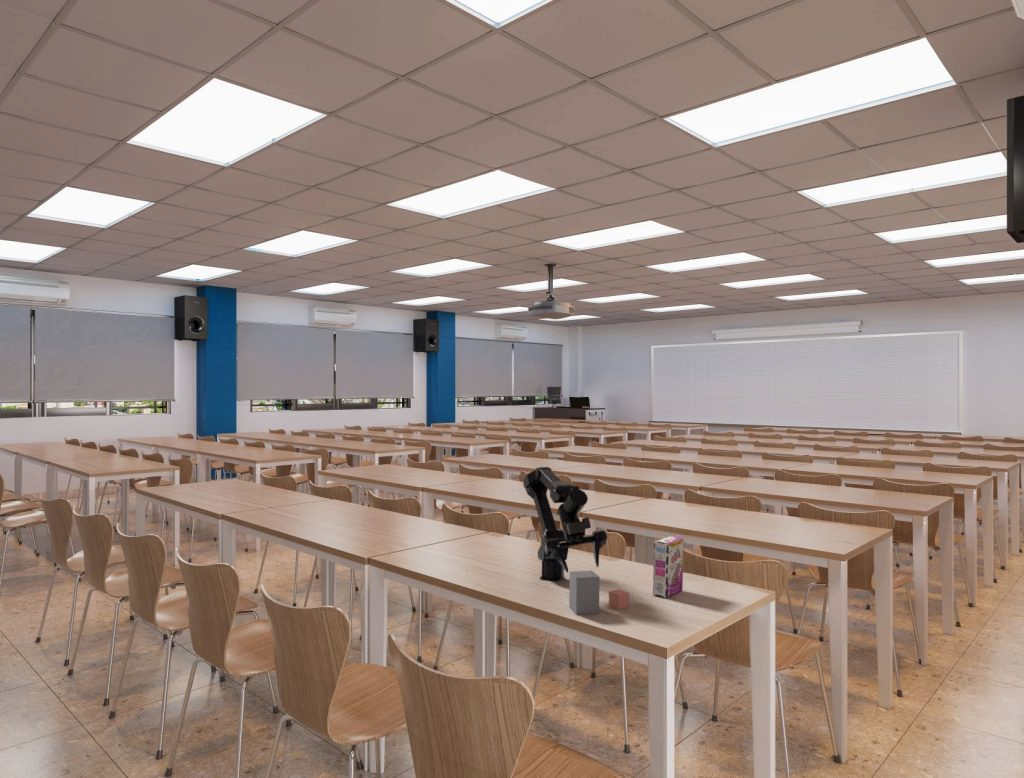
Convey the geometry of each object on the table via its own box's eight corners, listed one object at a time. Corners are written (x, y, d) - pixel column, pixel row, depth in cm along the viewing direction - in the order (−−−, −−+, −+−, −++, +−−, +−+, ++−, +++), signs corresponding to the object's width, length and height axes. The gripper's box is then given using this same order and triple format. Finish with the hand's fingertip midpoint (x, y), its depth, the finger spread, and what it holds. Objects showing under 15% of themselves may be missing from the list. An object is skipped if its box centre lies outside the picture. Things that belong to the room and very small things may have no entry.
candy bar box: (667, 599, 189) (668, 543, 190) (652, 595, 192) (652, 541, 193) (683, 590, 198) (684, 537, 198) (668, 587, 201) (669, 535, 201)
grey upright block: (569, 607, 180) (569, 571, 181) (591, 605, 182) (591, 570, 182) (576, 614, 174) (576, 577, 174) (599, 613, 175) (599, 576, 176)
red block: (608, 605, 183) (608, 591, 183) (619, 603, 185) (619, 589, 185) (618, 609, 179) (618, 594, 180) (628, 606, 182) (628, 592, 182)
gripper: (542, 514, 190) (553, 564, 181) (602, 504, 192) (617, 553, 183) (540, 530, 199) (551, 578, 189) (598, 520, 201) (611, 567, 192)
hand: (582, 569), depth 188 cm, fingers open, 9 cm apart
